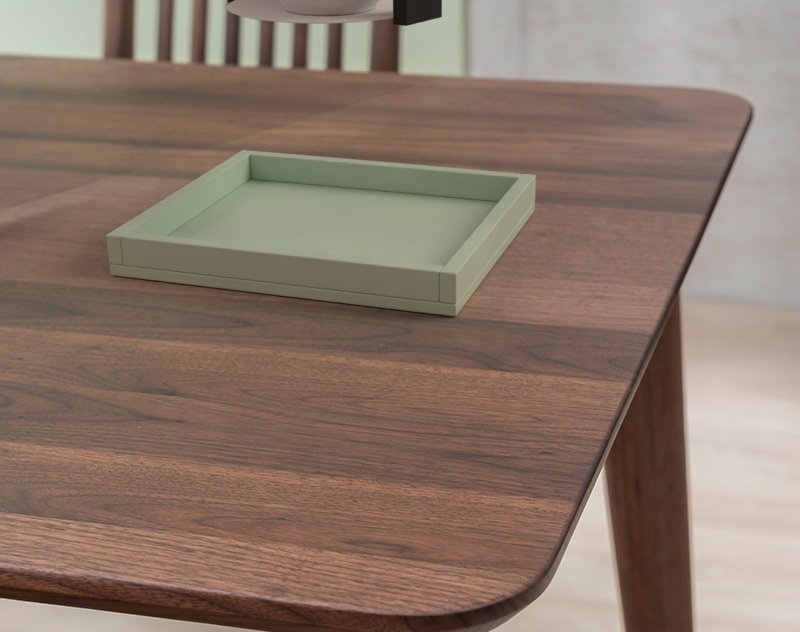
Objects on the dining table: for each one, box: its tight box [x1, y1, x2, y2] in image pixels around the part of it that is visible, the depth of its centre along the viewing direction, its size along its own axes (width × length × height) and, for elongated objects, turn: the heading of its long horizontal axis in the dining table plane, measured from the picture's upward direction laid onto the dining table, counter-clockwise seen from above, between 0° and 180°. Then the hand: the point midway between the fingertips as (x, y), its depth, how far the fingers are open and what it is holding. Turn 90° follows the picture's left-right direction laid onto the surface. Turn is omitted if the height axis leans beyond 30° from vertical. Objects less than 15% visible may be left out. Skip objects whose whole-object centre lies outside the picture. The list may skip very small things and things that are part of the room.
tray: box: [105, 149, 537, 317], centre depth 65 cm, size 18×16×2 cm
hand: (330, 9), depth 61 cm, fingers closed on teacup, 10 cm apart
